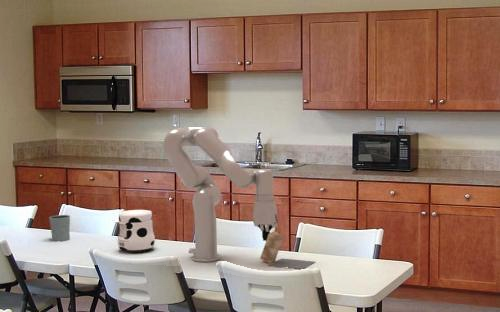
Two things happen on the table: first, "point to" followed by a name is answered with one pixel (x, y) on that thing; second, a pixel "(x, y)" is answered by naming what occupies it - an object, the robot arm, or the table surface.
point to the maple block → (271, 247)
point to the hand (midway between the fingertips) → (266, 240)
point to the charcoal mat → (291, 263)
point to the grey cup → (60, 227)
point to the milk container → (135, 231)
